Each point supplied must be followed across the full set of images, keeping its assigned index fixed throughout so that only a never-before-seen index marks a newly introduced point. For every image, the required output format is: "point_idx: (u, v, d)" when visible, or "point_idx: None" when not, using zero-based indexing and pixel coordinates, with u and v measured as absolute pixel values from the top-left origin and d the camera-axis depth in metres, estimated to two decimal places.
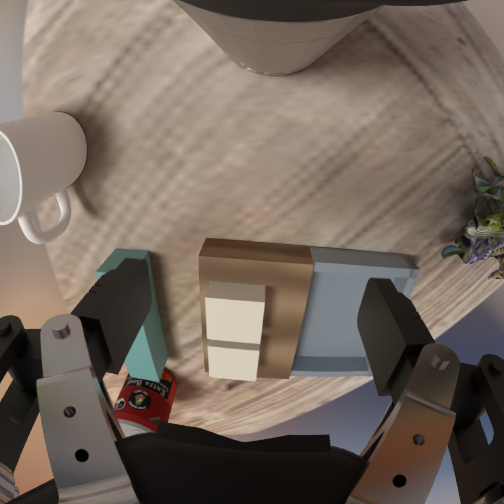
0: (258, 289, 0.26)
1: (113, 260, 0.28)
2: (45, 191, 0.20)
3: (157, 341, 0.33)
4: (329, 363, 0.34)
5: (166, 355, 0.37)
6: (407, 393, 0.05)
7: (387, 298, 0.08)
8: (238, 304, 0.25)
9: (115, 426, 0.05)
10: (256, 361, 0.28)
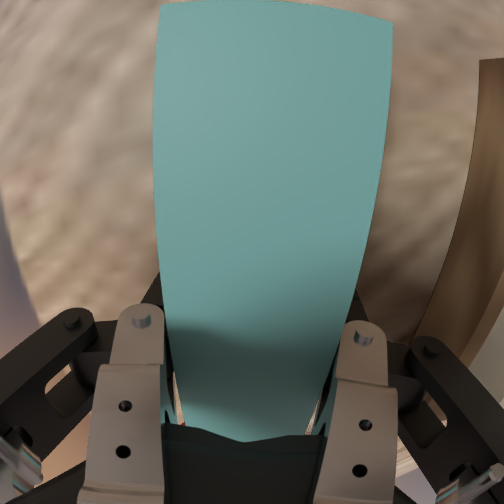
0: None
1: None
2: None
3: None
4: None
5: None
6: (338, 380, 0.05)
7: None
8: None
9: None
10: None
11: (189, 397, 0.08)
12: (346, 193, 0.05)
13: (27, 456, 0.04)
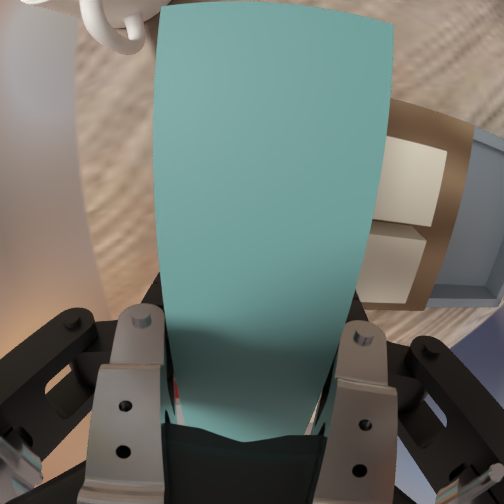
0: None
1: None
2: None
3: None
4: (459, 291, 0.24)
5: None
6: (338, 380, 0.05)
7: None
8: (417, 150, 0.15)
9: None
10: (417, 262, 0.18)
11: (189, 398, 0.08)
12: (346, 196, 0.05)
13: (27, 456, 0.04)
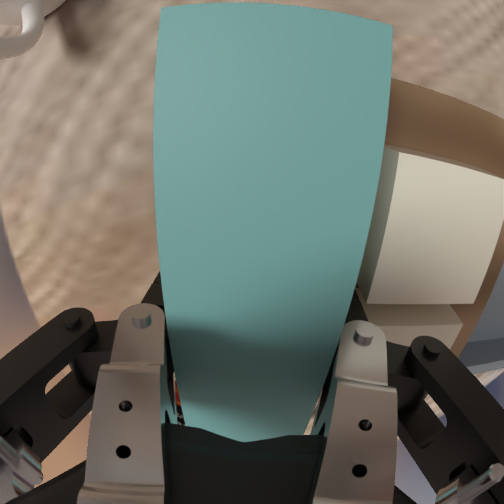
0: (475, 167, 0.09)
1: None
2: None
3: None
4: (484, 350, 0.16)
5: None
6: (338, 380, 0.05)
7: None
8: (470, 182, 0.07)
9: None
10: None
11: (189, 397, 0.08)
12: (345, 196, 0.05)
13: (27, 456, 0.04)
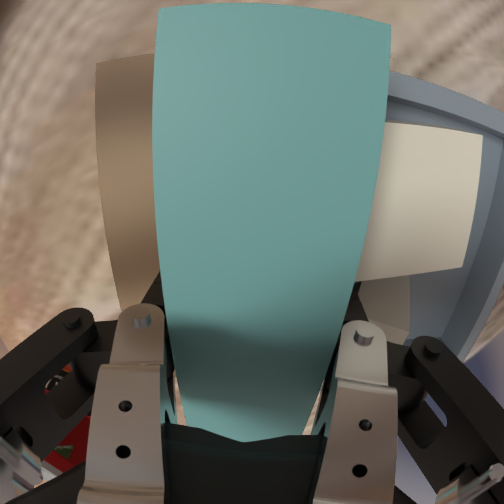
0: (441, 126, 0.09)
1: None
2: None
3: None
4: None
5: None
6: (338, 380, 0.05)
7: None
8: (436, 141, 0.07)
9: None
10: None
11: (190, 395, 0.08)
12: (343, 196, 0.05)
13: (27, 456, 0.04)
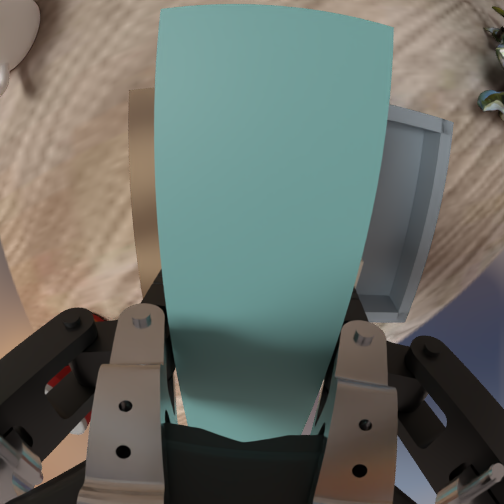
0: None
1: None
2: None
3: None
4: None
5: None
6: (338, 380, 0.05)
7: None
8: None
9: None
10: None
11: (190, 394, 0.08)
12: (345, 198, 0.05)
13: (27, 456, 0.04)
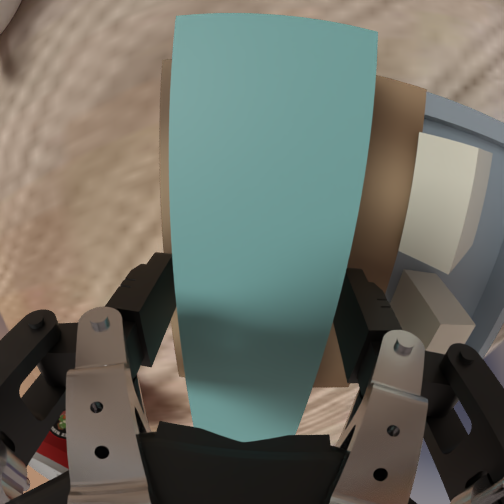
0: None
1: None
2: None
3: None
4: None
5: None
6: (374, 385, 0.05)
7: (355, 286, 0.09)
8: (486, 161, 0.09)
9: (142, 424, 0.05)
10: None
11: (194, 375, 0.09)
12: (337, 181, 0.06)
13: (12, 459, 0.03)
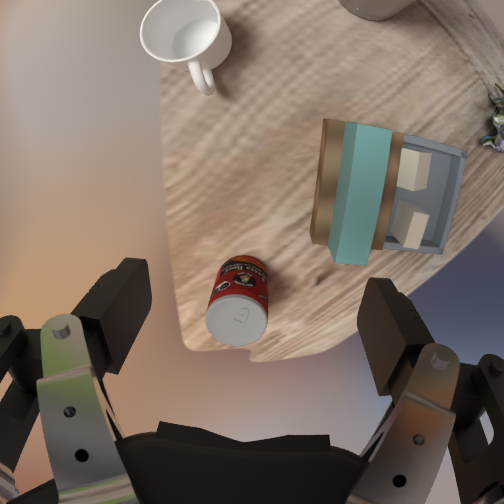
0: None
1: None
2: (216, 51, 0.26)
3: None
4: None
5: None
6: (407, 393, 0.05)
7: (387, 298, 0.08)
8: (426, 156, 0.32)
9: (115, 426, 0.05)
10: None
11: (347, 210, 0.31)
12: (383, 159, 0.28)
13: None
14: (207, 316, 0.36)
